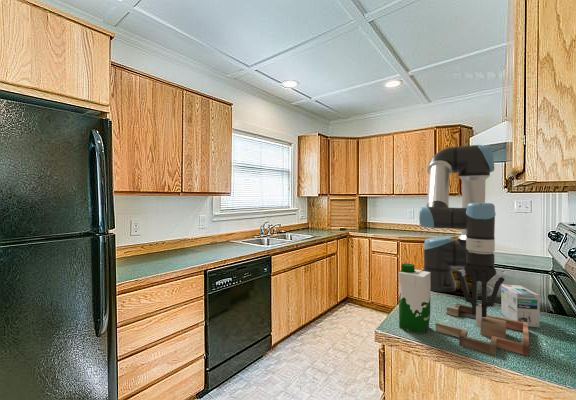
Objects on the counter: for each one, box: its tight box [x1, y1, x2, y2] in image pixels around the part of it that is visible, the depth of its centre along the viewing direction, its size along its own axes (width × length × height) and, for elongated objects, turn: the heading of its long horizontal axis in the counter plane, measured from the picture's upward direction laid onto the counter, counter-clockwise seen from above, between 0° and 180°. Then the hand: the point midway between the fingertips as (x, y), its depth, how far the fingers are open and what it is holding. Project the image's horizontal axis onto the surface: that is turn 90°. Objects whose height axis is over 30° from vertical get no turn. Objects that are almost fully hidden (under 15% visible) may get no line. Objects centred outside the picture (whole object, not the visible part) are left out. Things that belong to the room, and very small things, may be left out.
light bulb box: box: [500, 283, 541, 328], centre depth 100 cm, size 11×7×11 cm, turn 168°
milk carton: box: [397, 263, 432, 335], centre depth 94 cm, size 9×9×20 cm
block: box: [480, 317, 507, 339], centre depth 90 cm, size 6×6×4 cm
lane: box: [434, 305, 530, 357], centre depth 92 cm, size 18×23×2 cm
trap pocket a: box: [454, 303, 476, 320], centre depth 104 cm, size 5×8×2 cm, turn 51°
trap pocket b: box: [458, 330, 498, 356], centre depth 82 cm, size 5×8×2 cm, turn 51°
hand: (479, 326), depth 92 cm, fingers closed
